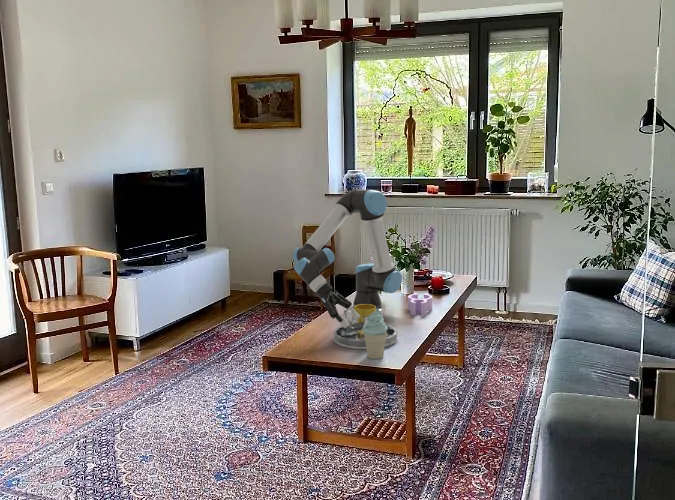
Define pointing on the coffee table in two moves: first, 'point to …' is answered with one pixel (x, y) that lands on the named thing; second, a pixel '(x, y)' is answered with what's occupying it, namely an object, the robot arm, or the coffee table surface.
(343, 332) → the grey round-based stand
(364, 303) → the robot arm
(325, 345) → the coffee table surface
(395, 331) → the grey round tray
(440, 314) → the coffee table surface
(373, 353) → the ice cream cone
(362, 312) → the plant pot
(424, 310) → the clip
